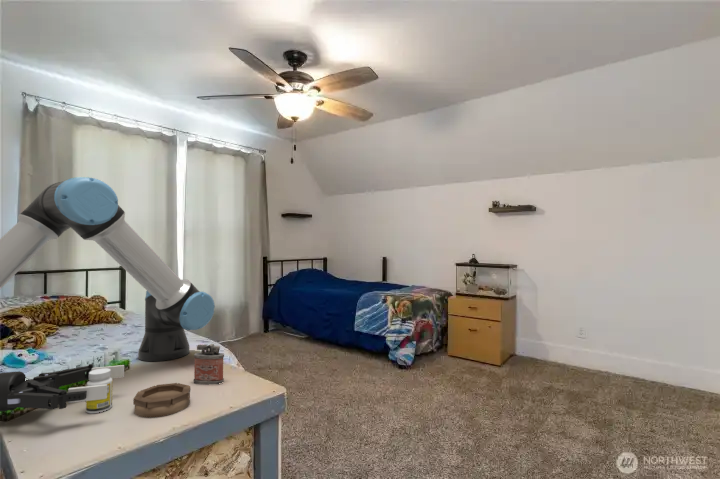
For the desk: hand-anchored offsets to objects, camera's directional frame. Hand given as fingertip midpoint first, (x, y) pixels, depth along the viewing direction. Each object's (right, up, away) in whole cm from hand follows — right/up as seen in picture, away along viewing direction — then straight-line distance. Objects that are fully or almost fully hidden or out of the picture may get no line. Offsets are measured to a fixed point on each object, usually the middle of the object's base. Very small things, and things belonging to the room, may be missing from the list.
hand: (116, 380), depth 83 cm
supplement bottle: (-3, -6, -1) cm, 7 cm away
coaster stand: (+10, -6, 0) cm, 12 cm away
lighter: (+14, -7, +16) cm, 22 cm away
